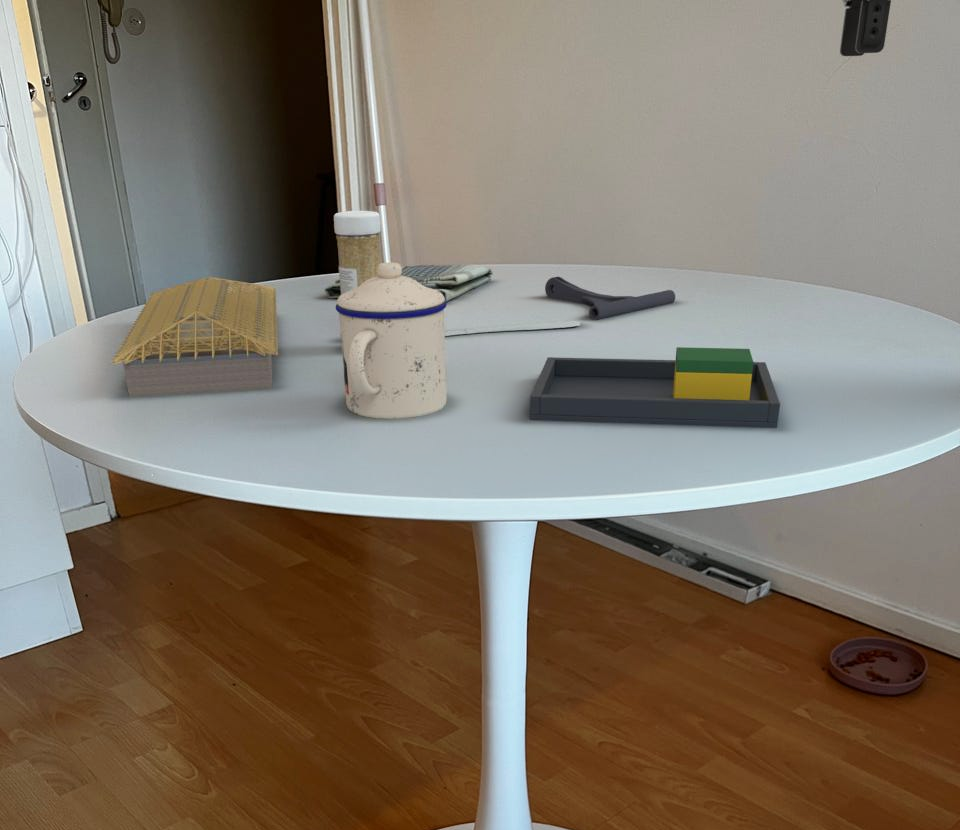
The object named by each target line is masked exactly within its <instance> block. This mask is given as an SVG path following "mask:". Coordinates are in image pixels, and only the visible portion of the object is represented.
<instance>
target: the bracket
mask: <svg viewBox="0 0 960 830" xmlns="http://www.w3.org/2000/svg"><path fill="white" fill-rule="evenodd" d="M544 291H545V294H546V297H547V298H549V299H552V300H557V301H558V300H559V301H564V302H571V303H576V304H581V305H588V306H591V307H590V308H589V311H588V315H589V317H590V319H591V320H594V321H598V320H603V319H607V318H611V317H612V318H613V317H616V316H621V315H624V314H625V315H626V314H629V313H630V314H631V313H633V312H639V311H643V310H648V309H652V308H656V307H661V306H665V305H669V304H673V303H674V302H675V301H676V293H675V291H674V290H672V289H666V290H662V291H658V292H653V293H648V294H643V295H639V296H634V295H633V296H632V295H609V294H602V293H597V292H594V291H590V290H587V289H585V288H581V287H579V286H577V285H576V284H573V283H571V282H569V281H568V280H566V279H564V278H563V277H561V276H554V277H553V276H552V277H551V278H549V279H548V280H547V281H546V283H545V285H544Z"/></svg>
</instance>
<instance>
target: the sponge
mask: <svg viewBox="0 0 960 830" xmlns="http://www.w3.org/2000/svg"><path fill="white" fill-rule="evenodd" d="M675 351H676V352H675V360H676V361H675V374H674V387H673V398H687V399H722V400H749V396H750V388H751V379H752V371H753V362H754V360H753V356H752V353H751V350H750V348H732V347H731V348H730V347H729V348H728V347H727V348H725V347H685V346H683V347H680V346H677V347H676V348H675Z"/></svg>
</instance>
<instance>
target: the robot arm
mask: <svg viewBox="0 0 960 830" xmlns="http://www.w3.org/2000/svg"><path fill="white" fill-rule="evenodd" d="M841 1H842V3H843V7H844V8H845V10H844V16H843V17H844V18H843V25H842V32H841V38H840V39H841V40H840V45H839V53H840V55H841V56H842V57H861V56H863V55H865V54H877V53H880V52H882V51H883V49H884V47H885V43H886V36H887V30H888V23H889V17H890V10H891V3H892V0H841Z"/></svg>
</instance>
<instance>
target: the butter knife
mask: <svg viewBox="0 0 960 830" xmlns="http://www.w3.org/2000/svg"><path fill="white" fill-rule="evenodd" d="M580 325H581V322H580V321H578V320H557V321H540V322H526V323H516V324H506V325H495V326H494V325H493V326H485V327H475V328H466V329H458V330H457V329H456V330H444V332H445V337H449V336H456V335H457V336H458V335H470V334H471V335H472V334H484V333H499V332H517V331H518V332H519V331H538V330H550V329H562V328H563V329H565V328H572V327H574V328H575V327H578V326H580Z"/></svg>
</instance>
